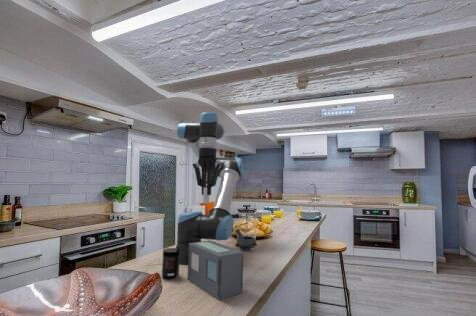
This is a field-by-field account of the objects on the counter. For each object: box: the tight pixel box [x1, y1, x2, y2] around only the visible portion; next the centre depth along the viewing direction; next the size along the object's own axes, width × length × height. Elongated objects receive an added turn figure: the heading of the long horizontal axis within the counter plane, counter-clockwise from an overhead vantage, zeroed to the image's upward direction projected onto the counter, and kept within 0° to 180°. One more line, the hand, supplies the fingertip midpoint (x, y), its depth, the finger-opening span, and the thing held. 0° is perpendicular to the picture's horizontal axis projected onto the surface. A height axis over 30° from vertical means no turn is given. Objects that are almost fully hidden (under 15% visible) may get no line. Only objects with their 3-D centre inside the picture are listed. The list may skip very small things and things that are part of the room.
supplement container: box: [161, 247, 180, 280], centre depth 109 cm, size 7×7×10 cm
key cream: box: [191, 252, 199, 272], centre depth 105 cm, size 6×6×6 cm
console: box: [186, 239, 244, 301], centre depth 101 cm, size 10×22×14 cm, turn 37°
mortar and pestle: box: [234, 227, 255, 253], centre depth 154 cm, size 11×9×12 cm
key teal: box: [207, 260, 217, 282], centre depth 95 cm, size 6×6×6 cm
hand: (206, 202), depth 116 cm, fingers closed
